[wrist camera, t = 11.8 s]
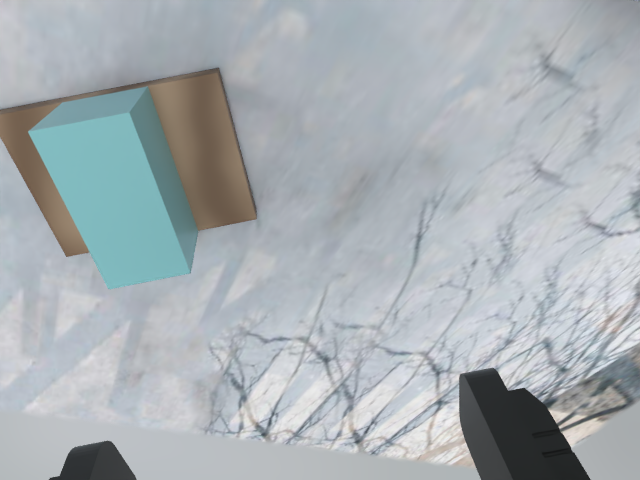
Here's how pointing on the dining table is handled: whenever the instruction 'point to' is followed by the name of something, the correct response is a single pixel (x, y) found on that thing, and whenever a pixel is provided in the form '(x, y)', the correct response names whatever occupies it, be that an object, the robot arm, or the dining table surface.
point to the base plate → (184, 142)
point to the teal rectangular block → (120, 185)
